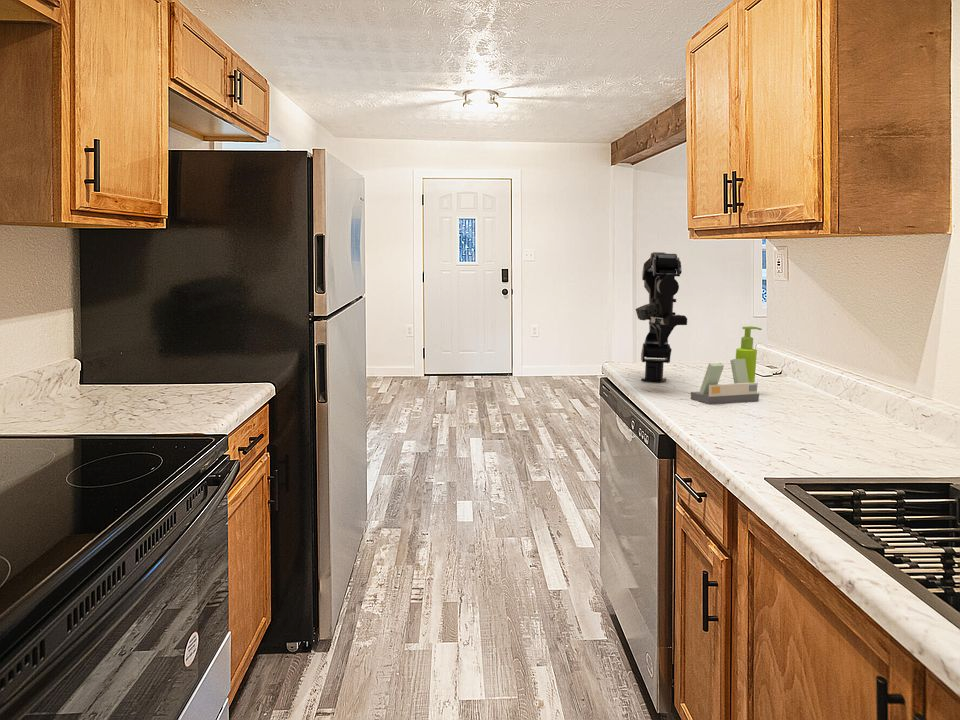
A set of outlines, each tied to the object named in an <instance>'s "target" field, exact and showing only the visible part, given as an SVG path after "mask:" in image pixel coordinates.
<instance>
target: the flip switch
mask: <svg viewBox="0 0 960 720" xmlns="http://www.w3.org/2000/svg"><path fill="white" fill-rule="evenodd" d="M724 367H725V365H724V364H722V363H721V362H713V363H712V362H710V363H708V365H707V368H706V371H705V374H704V377H703V381H702V383H701V387H700V390H699V392H701V393H702V394H709V385H717V384H719V382H720V379H721V376H722V373H723V370H724Z"/></svg>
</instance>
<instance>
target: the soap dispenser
mask: <svg viewBox="0 0 960 720" xmlns="http://www.w3.org/2000/svg"><path fill="white" fill-rule="evenodd" d="M741 329H743V330H744V336H742V337H741V338H740V340H741V341H740V347H739V348H736V350H735V359H745V362H746V368H747V374H748V380H749V383H755V382H756V381H755V380H756V368H757V367H756V366H757V365H756V364H757V353H758V352H757V351H758V350H757V349H755V348H754V347H753V346H754V338H753V337H752V336H751V331H752V330H758V331H762V330H763V328H761V327H757V326H742V328H741Z"/></svg>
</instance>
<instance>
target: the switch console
mask: <svg viewBox="0 0 960 720" xmlns="http://www.w3.org/2000/svg"><path fill="white" fill-rule="evenodd" d="M758 384H759V383H758V382H756V381H755V383H736V384H734V383H721V384H719V383H718V384H717V385H709V394H702V393H701V392H700V391H690V400H693V401H695V402H696V401H697V402H699V403H703V404H708V405H715V404H716V405H717V404H731V403H732V404H733V403H744V402H745V403H747V402H759V400H760V393H758V387H759V385H758Z"/></svg>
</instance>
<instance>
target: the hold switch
mask: <svg viewBox="0 0 960 720" xmlns="http://www.w3.org/2000/svg"><path fill="white" fill-rule="evenodd" d="M730 367H731V373H732V379H733V384H736V383H749V380H748V374H747V368H746V362H745V359H736V358H734V359H730Z"/></svg>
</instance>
